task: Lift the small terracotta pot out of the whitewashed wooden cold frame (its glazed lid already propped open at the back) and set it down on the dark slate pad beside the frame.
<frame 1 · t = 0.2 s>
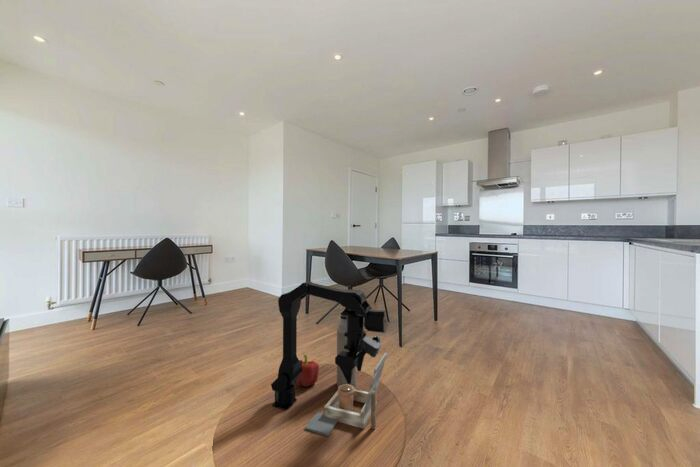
hand: (354, 376, 87), 14 cm above the table, fingers open, 9 cm apart
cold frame: (351, 410, 91), on the table
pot: (346, 409, 92), resting in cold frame
pad: (322, 424, 84), on the table
vegetable: (306, 383, 109), on the table
thermos bottle: (346, 385, 108), on the table
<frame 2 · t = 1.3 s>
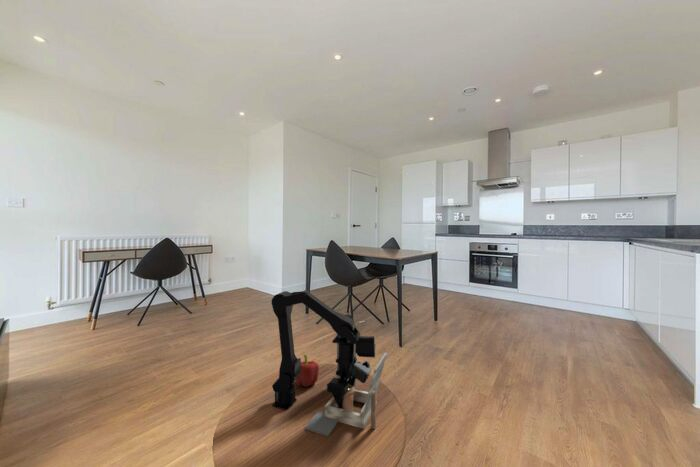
hand: (345, 400, 92), 3 cm above the table, fingers open, 9 cm apart
nothing on the table moved.
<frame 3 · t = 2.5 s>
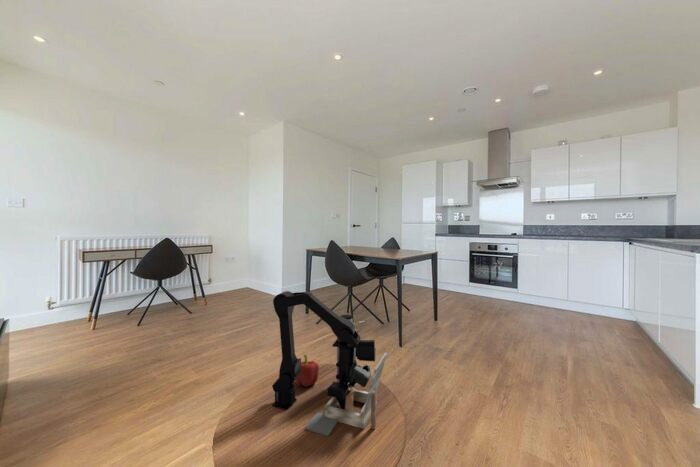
hand: (346, 404, 92), 2 cm above the table, fingers closed on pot, 5 cm apart
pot: (346, 409, 92), resting in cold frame, touching gripper
everything else where it was.
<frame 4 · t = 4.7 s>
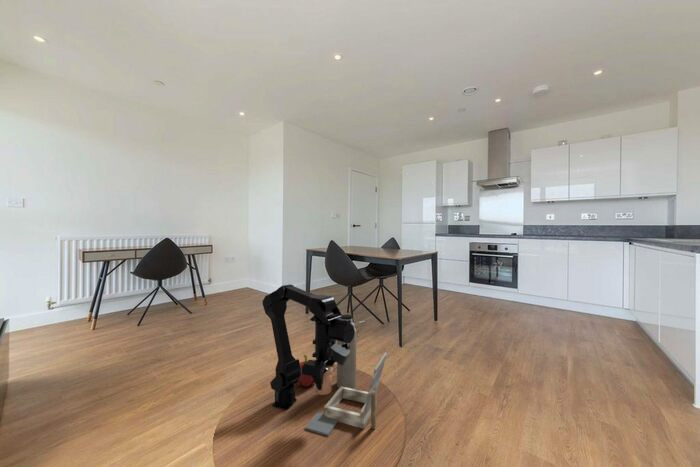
hand: (323, 385, 85), 12 cm above the table, fingers closed on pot, 5 cm apart
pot: (323, 390, 85), point 10 cm above the table, touching gripper
everything else where it was.
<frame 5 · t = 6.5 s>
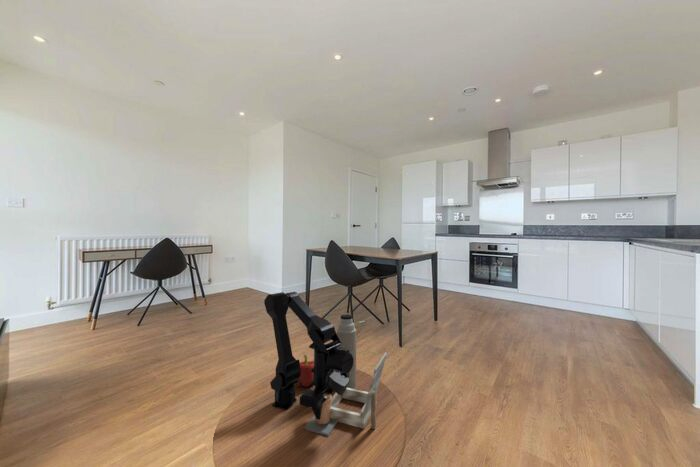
hand: (322, 413, 84), 3 cm above the table, fingers closed on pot, 5 cm apart
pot: (322, 419, 84), point 2 cm above the table, touching gripper
everything else where it was.
when the fingers open (3 cm above the table, at t = 7.1 s): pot drops 1 cm, resting on pad.
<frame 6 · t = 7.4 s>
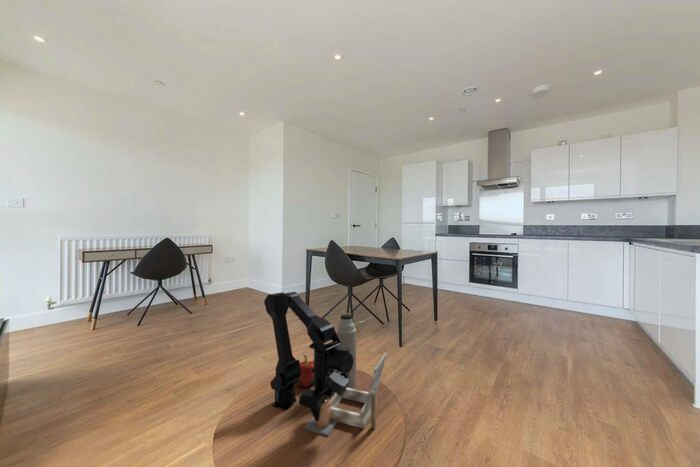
hand: (321, 414, 84), 3 cm above the table, fingers open, 6 cm apart
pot: (322, 422, 84), point 1 cm above the table, touching gripper, pad
everything else where it was.
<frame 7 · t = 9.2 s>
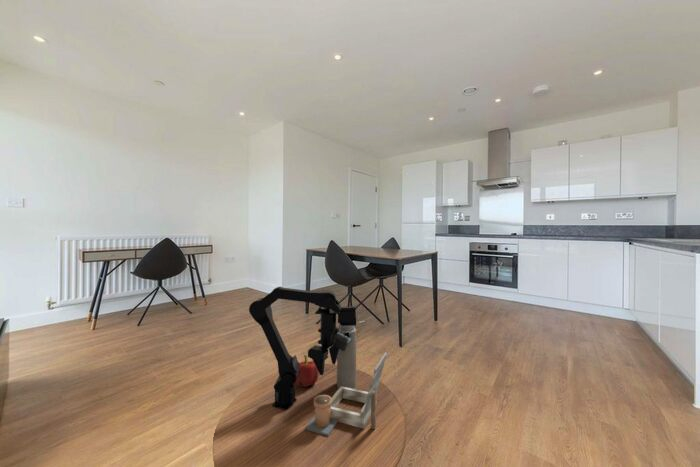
hand: (328, 369, 96), 12 cm above the table, fingers open, 9 cm apart
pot: (322, 422, 84), point 1 cm above the table, touching pad
everything else where it was.
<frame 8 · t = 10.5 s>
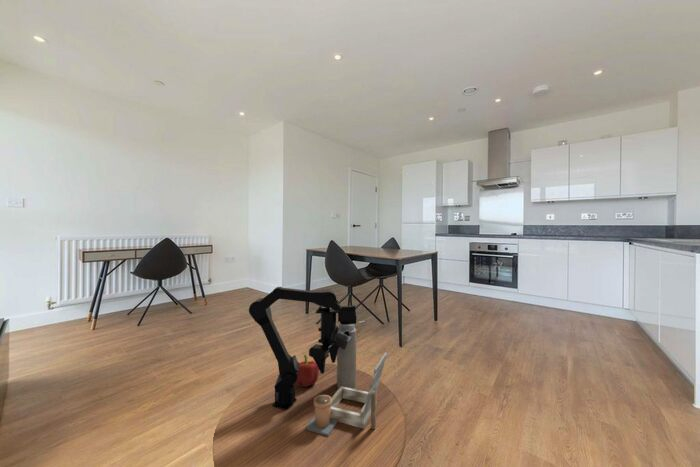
hand: (328, 367, 97), 12 cm above the table, fingers open, 9 cm apart
nothing on the table moved.
at the end: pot inside the target area on the pad (0.0 cm from its centre), point 0.6 cm above the pad's base; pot tilted 0°; the gripper is holding nothing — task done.
